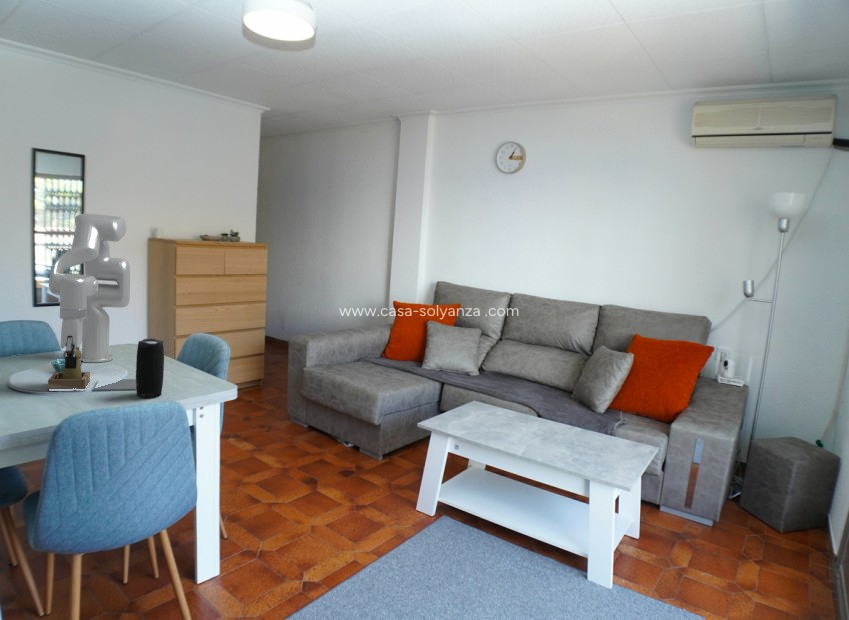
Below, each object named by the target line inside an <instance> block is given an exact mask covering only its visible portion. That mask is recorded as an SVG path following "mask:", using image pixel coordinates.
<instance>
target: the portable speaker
mask: <svg viewBox="0 0 849 620" xmlns="http://www.w3.org/2000/svg"><path fill="white" fill-rule="evenodd" d="M164 347H165V346H164V340H158V339H156V338H144V339H142V340H138V342H137V351H136V361H135V363H136V365H135V379H136V390H135V391H136V396H140V397H141V398H142V399H155V397H157V396H158V395H159V396H162V392H163V384H164V372H165V369H164V368H165V367H164V366H165V351H164V350H165V349H164Z"/></svg>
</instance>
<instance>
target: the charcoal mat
mask: <svg viewBox="0 0 849 620" xmlns="http://www.w3.org/2000/svg"><path fill="white" fill-rule="evenodd" d="M121 379H122V380H120V381H118V382H116V383H112V384H108V385H105V386H101V387H98V388H94V387H93V388H94V389H93V388H92V392H119V391H120V392H121V391H123V392H125V391H126V392H127V391H136V378H128V379H127V378H126V379H125V378H121Z"/></svg>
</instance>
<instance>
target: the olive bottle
mask: <svg viewBox="0 0 849 620" xmlns="http://www.w3.org/2000/svg"><path fill="white" fill-rule="evenodd" d="M73 351H74V350H73ZM65 354H66V350H65V351H64V352H63V355H62V356H63V359H64V360H65ZM81 356H82V350H77V349H76V356H75V357H77V364H76V368H73V369H66V368H65V364H64V366H63V371H62V372H63V377H62V379H82V373H81V372H82V367H81V361H80V358H81Z"/></svg>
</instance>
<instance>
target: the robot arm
mask: <svg viewBox="0 0 849 620" xmlns="http://www.w3.org/2000/svg"><path fill="white" fill-rule="evenodd" d="M126 223H127V222H126V220H125V219H124V217H121V216H118V215H107V214H106V215H105V214H98V213H97V214H96V213H80V214H77V215H76V216H75V218H74V224H75V229H74V233H73V234H74V235H73V239H72V244H71V249H69V250H68V251H66V252H64V253H62V254H61V255H60V256H59V257H58V258H57V259H56V260H55V261H54V263H53V264H52V266H51V269H50V274H49V278H48V289H49V291H50V293H51V294H53V295H57V296H59V318H60V319H62V322H61V329H60V330H61V333H60V334H61V335H60V348H61V349H64V348H65V351H66V354H65V359H64V365H65V368H66V369H73V368H76V364H77V357H75V356H76V349H77V350H80V346H81V350H80V351H81V354H82V356H81V358H80V359H81V360H82V361H83V363H105V362H109V361H112V360H113V358H114V356H113V355H112V354H110V350H109V349H110V316H109V314H108V312H107V311H106V310H105V309H104V308H126V307H128V305H129V303H130V299H131V267H130V263H129V262H128V260H127V259H125V258H119V257H111V256H110V243H109V242H120V240H122V238H124V236H125V235H126V232H127V224H126ZM82 264H84V273H85V274H76V273H75V274H74V273H64V272H65V271H66V270H68V269H70V268H72V267H75V266H78V265H82ZM99 281H103V282H105V281H106V282H109V281H110V282H115V283H116V284H115V283H110V284H109V283H99ZM73 350H74V351H73Z"/></svg>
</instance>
